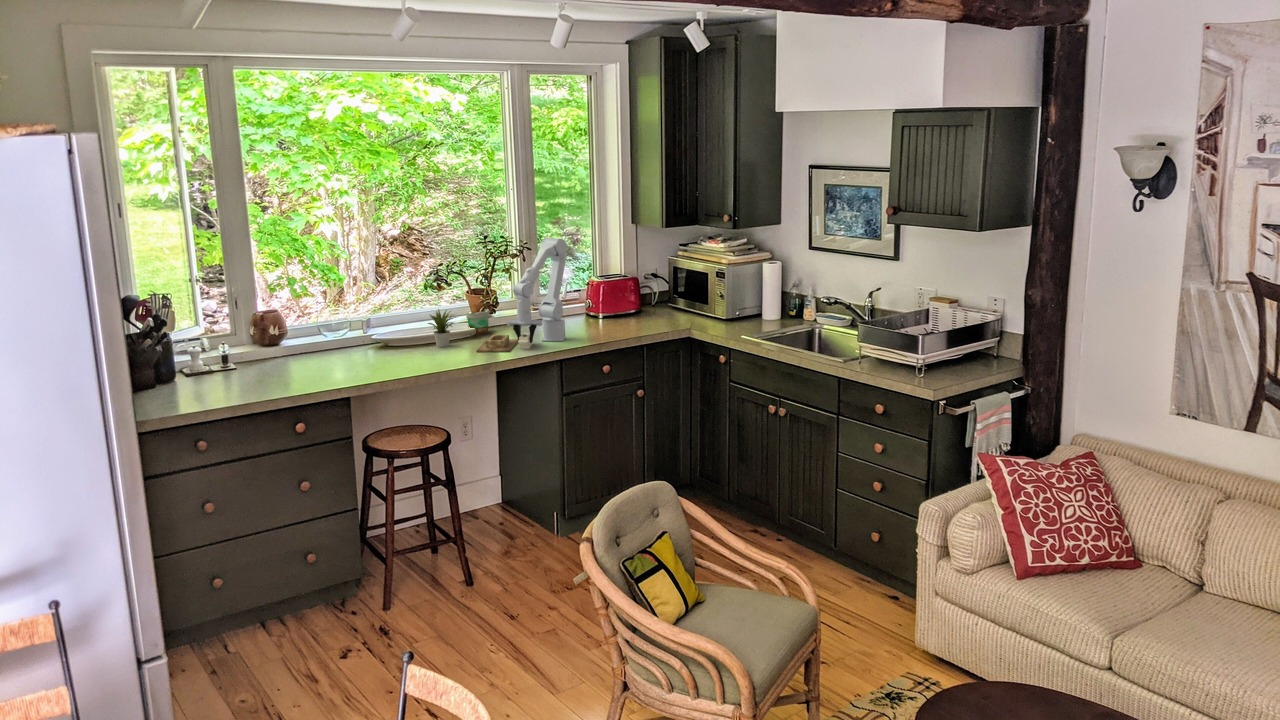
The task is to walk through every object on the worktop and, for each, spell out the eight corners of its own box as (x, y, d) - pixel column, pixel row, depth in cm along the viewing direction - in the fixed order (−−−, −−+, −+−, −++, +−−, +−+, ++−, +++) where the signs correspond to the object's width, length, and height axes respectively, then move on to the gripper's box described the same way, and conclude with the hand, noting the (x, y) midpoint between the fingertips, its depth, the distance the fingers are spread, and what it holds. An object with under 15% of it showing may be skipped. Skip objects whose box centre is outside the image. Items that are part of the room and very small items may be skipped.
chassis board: (519, 341, 436) (518, 332, 435) (509, 352, 417) (508, 343, 416) (487, 341, 437) (486, 332, 436) (476, 352, 418) (475, 343, 417)
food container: (476, 336, 446) (475, 314, 443) (467, 335, 449) (465, 313, 447) (496, 331, 455) (495, 310, 453) (487, 330, 459) (485, 308, 456)
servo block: (533, 343, 432) (532, 330, 431) (527, 350, 420) (527, 337, 418) (524, 343, 433) (523, 330, 431) (518, 350, 420) (517, 337, 419)
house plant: (451, 351, 421) (449, 313, 417) (421, 350, 424) (418, 312, 420) (464, 343, 435) (461, 306, 431) (434, 342, 437) (431, 305, 433)
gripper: (505, 312, 419) (506, 344, 422) (539, 312, 418) (540, 344, 421) (508, 309, 426) (510, 340, 429) (542, 309, 425) (543, 340, 428)
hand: (525, 342), depth 426 cm, fingers open, 4 cm apart
